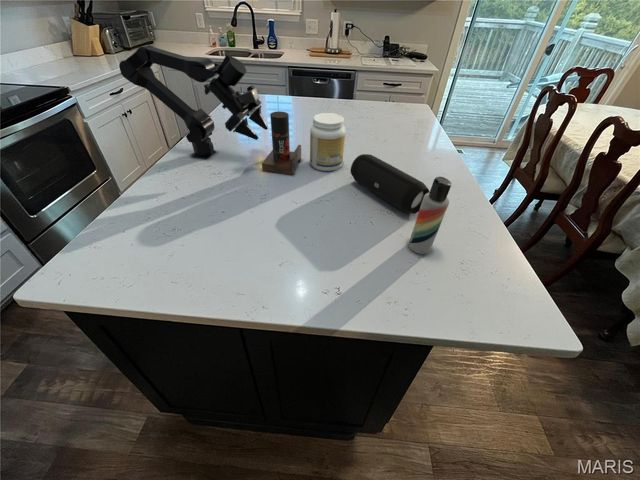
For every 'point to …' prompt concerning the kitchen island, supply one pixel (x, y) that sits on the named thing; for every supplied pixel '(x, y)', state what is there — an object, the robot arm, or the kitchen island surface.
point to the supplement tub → (327, 141)
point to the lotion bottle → (430, 216)
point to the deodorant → (280, 135)
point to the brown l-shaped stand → (282, 163)
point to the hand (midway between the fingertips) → (262, 133)
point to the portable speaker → (389, 183)
